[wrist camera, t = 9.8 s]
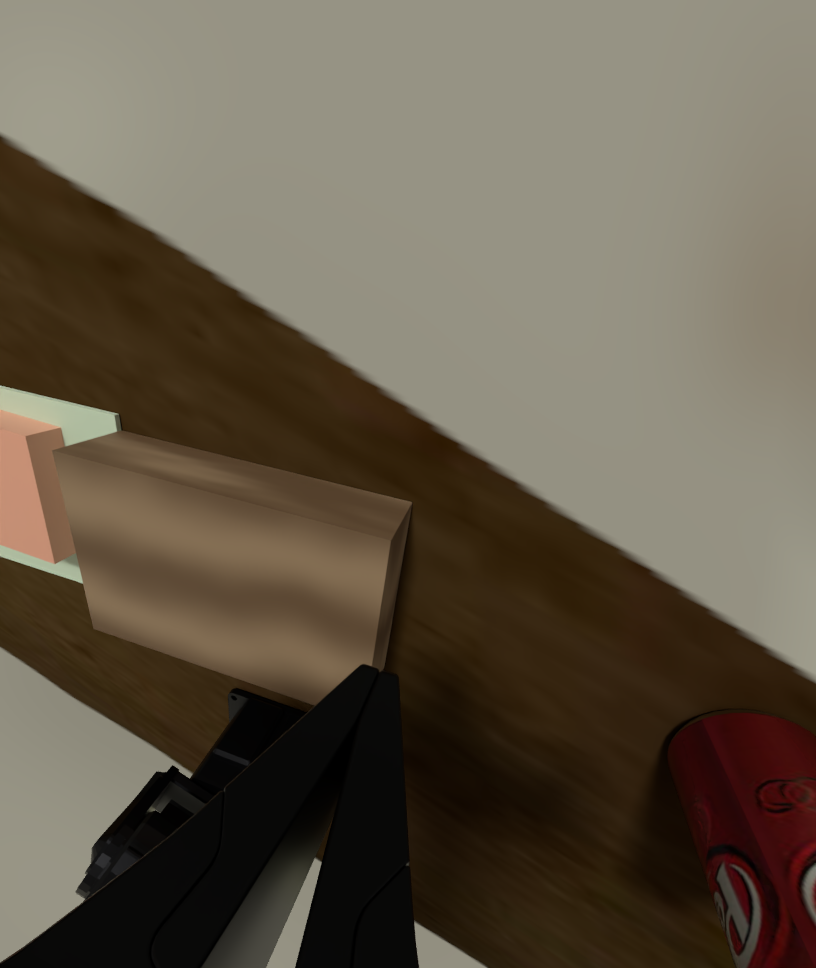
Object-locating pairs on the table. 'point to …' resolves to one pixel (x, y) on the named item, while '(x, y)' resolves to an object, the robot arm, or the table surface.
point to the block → (32, 490)
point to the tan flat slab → (233, 561)
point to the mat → (75, 428)
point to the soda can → (753, 829)
